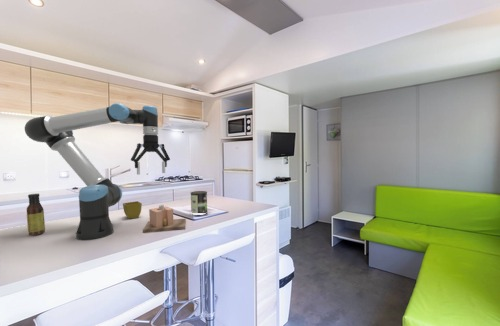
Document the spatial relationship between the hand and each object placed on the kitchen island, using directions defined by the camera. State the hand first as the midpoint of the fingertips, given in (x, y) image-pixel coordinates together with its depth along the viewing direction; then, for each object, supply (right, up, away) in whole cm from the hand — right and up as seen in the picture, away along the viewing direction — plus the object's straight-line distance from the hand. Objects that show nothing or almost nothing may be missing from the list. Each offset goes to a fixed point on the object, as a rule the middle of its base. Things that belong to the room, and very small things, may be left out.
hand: (151, 173), depth 130 cm
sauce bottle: (-51, -29, -14) cm, 60 cm away
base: (+9, -28, -4) cm, 30 cm away
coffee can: (+22, -27, +22) cm, 41 cm away
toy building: (+7, -27, -5) cm, 28 cm away
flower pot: (-18, -28, +15) cm, 36 cm away
